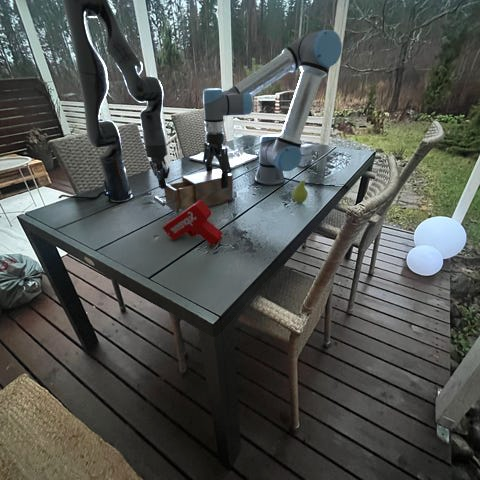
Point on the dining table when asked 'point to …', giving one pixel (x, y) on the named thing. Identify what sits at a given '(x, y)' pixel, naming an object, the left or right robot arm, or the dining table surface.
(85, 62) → the left robot arm
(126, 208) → the dining table surface
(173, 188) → the drawer
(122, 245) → the dining table surface
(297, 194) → the fruit
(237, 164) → the relief map
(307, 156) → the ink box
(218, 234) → the toy gun
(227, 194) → the wooden drawer box
